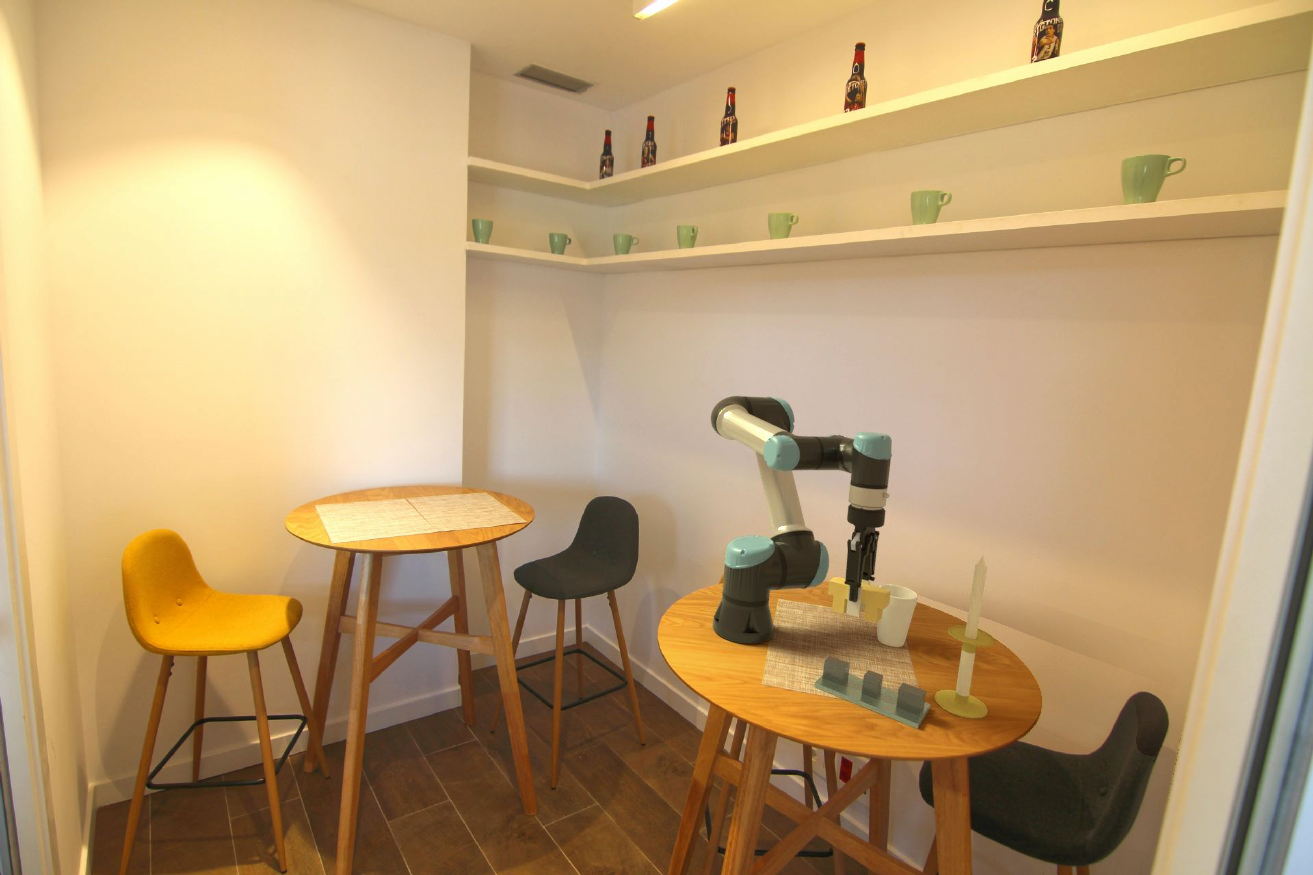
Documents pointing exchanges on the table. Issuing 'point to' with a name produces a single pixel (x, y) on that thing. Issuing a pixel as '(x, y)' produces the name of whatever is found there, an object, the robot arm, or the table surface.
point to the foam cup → (896, 615)
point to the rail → (873, 693)
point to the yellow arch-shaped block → (871, 598)
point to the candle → (968, 654)
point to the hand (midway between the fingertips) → (856, 611)
